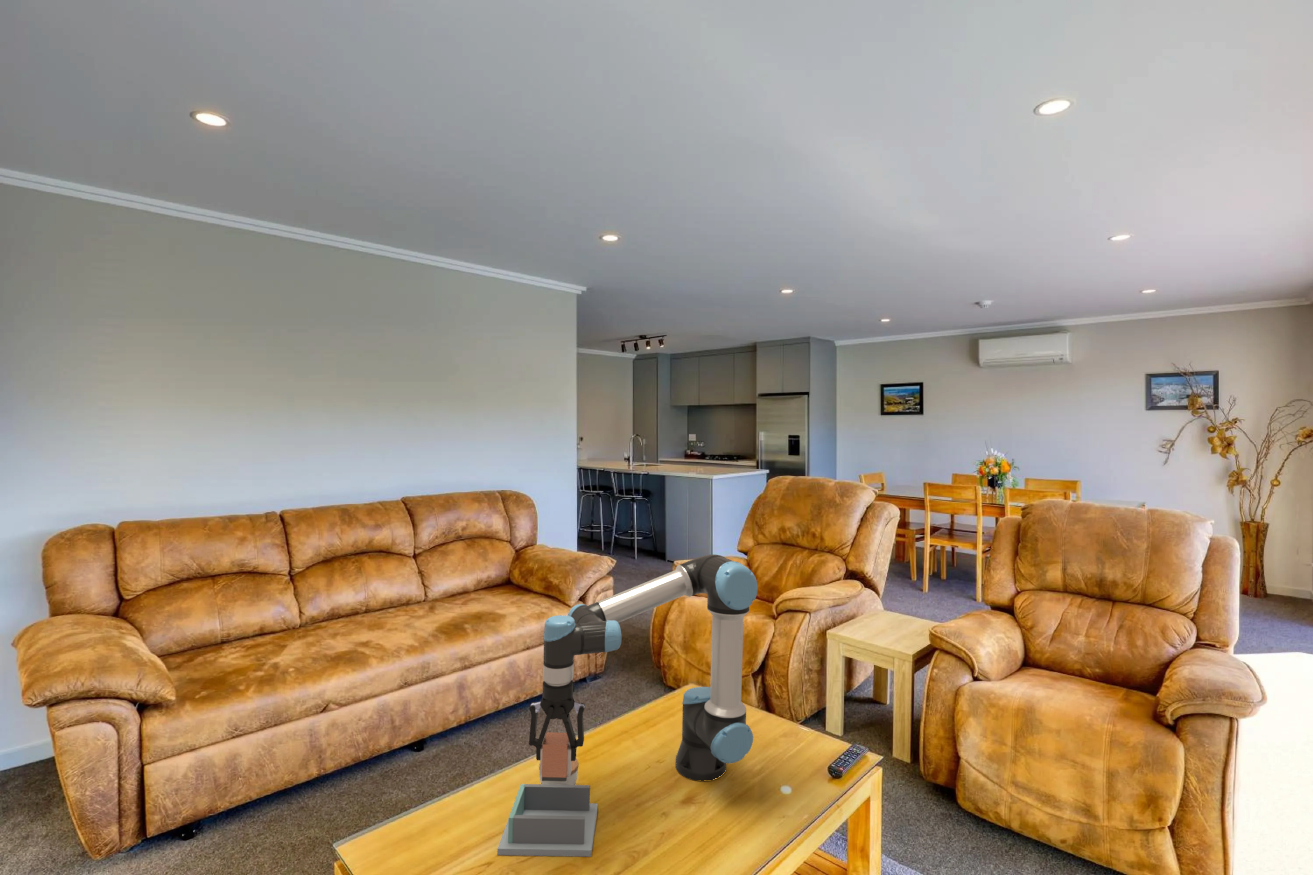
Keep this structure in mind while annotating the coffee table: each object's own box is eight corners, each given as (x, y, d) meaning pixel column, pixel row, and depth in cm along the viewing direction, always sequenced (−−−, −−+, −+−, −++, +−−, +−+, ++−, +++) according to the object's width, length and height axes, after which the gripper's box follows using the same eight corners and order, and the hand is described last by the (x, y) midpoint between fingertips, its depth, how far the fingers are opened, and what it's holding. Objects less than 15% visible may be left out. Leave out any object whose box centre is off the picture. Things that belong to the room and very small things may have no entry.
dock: (597, 808, 162) (598, 780, 162) (591, 856, 144) (591, 824, 144) (514, 807, 161) (514, 779, 161) (497, 854, 143) (498, 823, 143)
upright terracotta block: (569, 767, 155) (570, 732, 155) (566, 781, 149) (567, 744, 149) (545, 767, 155) (546, 732, 155) (541, 780, 149) (542, 744, 149)
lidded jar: (570, 805, 163) (571, 770, 163) (532, 799, 165) (533, 765, 165) (582, 782, 173) (583, 750, 173) (547, 777, 176) (548, 745, 175)
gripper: (597, 674, 156) (595, 764, 156) (522, 673, 156) (520, 763, 156) (595, 687, 148) (592, 781, 149) (516, 685, 148) (514, 780, 148)
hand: (556, 772), depth 152 cm, fingers closed on upright terracotta block, 6 cm apart
